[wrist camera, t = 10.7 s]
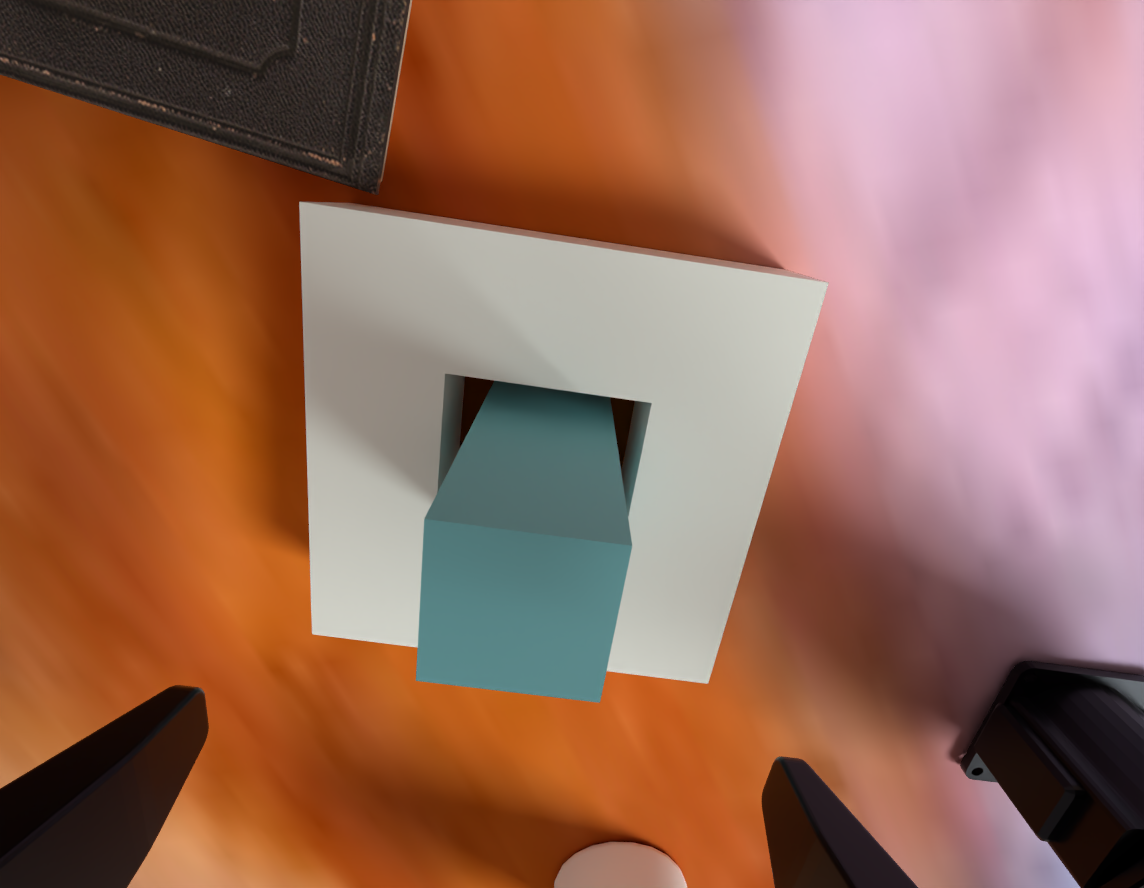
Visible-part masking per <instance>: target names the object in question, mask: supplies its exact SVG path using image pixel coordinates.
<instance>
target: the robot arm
mask: <svg viewBox="0 0 1144 888" xmlns="http://www.w3.org/2000/svg"><path fill="white" fill-rule="evenodd" d="M208 728H209V724H208V716H207V708H206V700H205V694H204V691H203V690H202V689H201V688H199V687H191V686H183V685H175V686H172V687H169V688H167V689H166V690H164V691H162V692H161V693H159V694H157V695H156V696H154V697H152V698H151V699H149V700H147V701H146V702H144V703H142V704H141V705H139V706H137V707H136V708H134V709H132V710H131V711H129V712H127V713H126V714H124V715H122V716H121V717H119V718H117V719H116V720H114V721H112V722H111V723H109V724H107V725H106V726H104V727H102V728H101V729H99V730H97V731H96V732H94V733H92V734H91V735H89V736H87V737H86V738H84V739H82V740H81V741H79V742H77V743H76V744H74V745H72V746H71V747H69V748H67V749H66V750H64V751H62V752H61V753H59V754H57V755H56V756H54V757H52V758H51V759H49V760H47V761H46V762H44V763H42V764H41V765H39V766H37V767H36V768H34V769H32V770H31V771H29V772H27V773H26V774H24V775H22V776H21V777H19V778H17V779H16V780H14V781H12V782H11V783H9V784H7V785H6V786H4V787H2V788H1V789H0V888H127V887H128V885H129V883H130V882H131V880H132V879H133V877H134V875H135V874H136V872H137V871H138V869H139V867H140V866H141V864H142V862H143V861H144V859H145V857H146V856H147V854H148V852H149V851H150V849H151V847H152V845H153V843H154V841H155V840H156V838H157V836H158V834H159V832H160V830H161V828H162V826H163V824H164V822H165V820H166V818H167V816H168V814H169V812H170V810H171V808H172V806H173V804H174V803H175V801H176V799H177V797H178V795H179V793H180V791H181V789H182V787H183V785H184V783H185V781H186V779H187V777H188V775H189V773H190V771H191V769H192V767H193V765H194V763H195V761H196V759H197V757H198V755H199V753H200V751H201V749H202V747H203V745H204V743H205V741H206V738H207V734H208ZM960 766H961V769H962V770H963V772H964V773H965V775H966V776H967V777H968V778H970V779H973V780H982V781H990V782H998V783H999V785H1000V786H1001V788H1002V789H1003V790H1004V792H1005V793H1006V794H1007V796H1008V797H1009V799H1010V800H1011V801H1012V803H1013V804H1014V806H1015V807H1016V808H1017V810H1018V811H1019V812H1020V814H1021V815H1022V817H1023V818H1024V819H1025V821H1026V822H1027V823H1028V825H1029V826H1030V828H1031V829H1032V830H1033V832H1034V833H1035V835H1036V836H1037V837H1038V838H1039V839H1040V840H1042V841H1047V842H1048V844H1049V845H1050V846H1051V848H1052V849H1053V850H1054V852H1055V853H1056V855H1057V856H1058V857H1059V859H1060V860H1061V861H1062V863H1063V864H1064V865H1065V867H1066V868H1067V870H1068V871H1069V872H1070V874H1071V875H1072V876H1073V878H1074V879H1075V880H1076V882H1077V883H1078V885H1079V886H1080V887H1081V888H1144V676H1141V675H1133V674H1125V673H1117V672H1110V671H1102V670H1094V669H1086V668H1079V667H1071V666H1063V665H1055V664H1048V663H1040V662H1032V661H1024V662H1021V663H1019V664H1017V665H1015V667H1014V668H1013V669H1012V671H1011V673H1010V675H1009V677H1008V678H1007V680H1006V682H1005V684H1004V686H1003V687H1002V689H1001V691H1000V693H999V695H998V697H997V698H996V700H995V702H994V704H993V706H992V707H991V709H990V711H989V713H988V715H987V717H986V718H985V720H984V722H983V724H982V726H981V727H980V729H979V731H978V733H977V735H976V737H975V738H974V740H973V742H972V744H971V746H970V747H969V749H968V751H967V753H966V755H965V757H964V758H963V760H962V762H961V765H960ZM762 810H763V816H764V823H765V829H766V835H767V841H768V848H769V854H770V860H771V866H772V873H773V879H774V885H775V888H918V887H917V886H916V885H915V884H914V882H913V881H912V880H911V879H910V878H909V877H908V876H907V875H906V873H905V872H904V871H903V870H902V869H901V868H900V867H899V866H898V864H897V863H896V862H895V861H894V860H893V859H892V858H891V857H890V856H889V854H888V853H887V852H886V851H885V850H884V849H883V848H882V847H881V845H880V844H879V843H878V842H877V841H876V840H875V839H874V838H873V836H872V835H871V834H870V833H869V832H868V831H867V830H866V829H865V828H864V826H863V825H862V824H861V823H860V822H859V821H858V820H857V819H856V817H855V816H854V815H853V814H852V813H851V812H850V811H849V810H848V809H847V807H846V806H845V805H844V804H843V803H842V802H841V801H840V800H839V798H838V797H837V796H836V795H835V794H834V793H833V792H832V791H831V789H830V788H829V787H828V786H827V785H826V784H825V783H824V782H823V781H822V779H821V778H820V777H819V776H818V775H817V774H816V773H815V772H814V770H813V769H812V768H811V767H810V766H809V765H808V764H807V763H806V762H805V761H803V760H802V759H798V758H790V757H782V756H781V757H778V758H776V759H775V761H774V763H773V765H772V768H771V770H770V773H769V776H768V778H767V781H766V784H765V786H764V789H763V792H762Z"/></svg>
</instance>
